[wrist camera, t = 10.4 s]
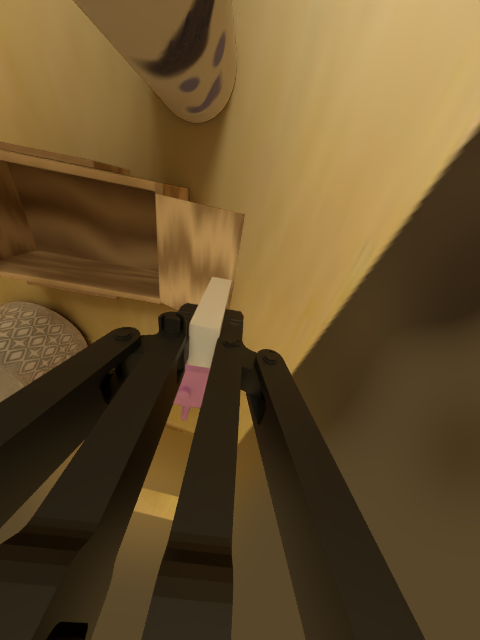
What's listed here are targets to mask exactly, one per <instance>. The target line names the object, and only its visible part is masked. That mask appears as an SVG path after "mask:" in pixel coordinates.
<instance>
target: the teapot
mask: <svg viewBox="0 0 480 640" xmlns="http://www.w3.org/2000/svg"><path fill="white" fill-rule="evenodd" d="M209 371H210V368H206V367H199V366H193V365H188V360H187V362H186V365H185V373H184V376H183V379H182V382H181V384H180V387H179V390H178V392H177V395H176V398H175V400H174V403H173V404H176V405H183V407H182V415H181V418H182V420H183V421H186V419H187V416H188V412H189V409H190V407H197V408H201V404H202V400H203V396H204V392H205V388H206V383H207V379H208V375H209Z"/></svg>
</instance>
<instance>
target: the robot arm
mask: <svg viewBox="0 0 480 640" xmlns="http://www.w3.org/2000/svg"><path fill="white" fill-rule="evenodd" d="M231 281H232V280H228V279H222V278H217V277H212V278H211V280H210V282H209V284H208V286H207V289H206V291H205V293H204V295H203V297H202V299H201V301H200V303H199V305H197V304H191V303H186V304H184V305H182V306H181V307H180V309H179V311H178V312H166V313H163V314H161V315H160V316H159V317H158V321H159V332H158V333H157V334H155V335H140V332H139V331H138V330H137V329H135V328H131V327H122V328H118V329H115V330H113V331H111V332H110V333H108V334H107V335H105V336H103V337H102V338H100V339H99V340H97V341H96V342H94V343H92V344H91V345H89V346H88V347H86V348H85V349H83V350H81V351H80V352H78V353H77V354H75V355H74V356H72V357H70V358H69V359H67V360H66V361H64V362H63V363H61V364H59V365H58V366H56V367H55V368H53V369H52V370H50V371H48V372H47V373H45V374H44V375H42V376H41V377H39V378H37V379H36V380H34V381H33V382H31V383H30V384H28V385H26V386H25V387H23V388H22V389H20V390H19V391H17V392H15V393H14V394H12V395H11V396H9V397H8V398H6V399H4V400H3V401H1V402H0V528H1V527H2V526H3V524H5V523H6V522H7V520H8V519H9V518H10V517H11V516H12V515H13V514H14V513H15V512H16V511H17V510H18V509H19V508H20V507H21V506H22V505H23V504H24V503H25V502H26V500H28V499H29V497H30V496H31V495H32V494H33V493H34V492H35V491H36V490H37V489H38V488H39V487H40V486H41V485H42V484H43V483H44V482H45V481H46V480H47V479H48V477H49V476H50V475H51V474H52V473H53V472H54V471H55V470H56V469H57V468H58V467H59V466H60V465H61V464H62V463H63V462H64V461H65V460H66V459H67V458H68V457H69V455H70V454H71V453H72V452H73V451H74V450H75V449H76V448H77V447H78V446H79V445H80V444H81V443H82V442H83V441H84V440H85V441H84V442H83V444H82V445H81V447H80V448H79V450H78V451H77V453H76V454H75V455H74V457H73V458H72V460H71V461H70V463H69V464H68V466H67V467H66V469H65V470H64V472H63V473H62V475H61V476H60V477H59V479H58V480H57V482H56V483H55V485H54V486H53V488H52V489H51V491H50V492H49V494H48V495H47V496H46V498H45V500H44V501H43V502H42V504H41V505H40V507H39V508H38V510H37V511H36V513H35V514H34V516H33V517H32V518H31V520H30V521H29V522H28V523H27V525H26V526H25V527H24V528H23V529H22V530H21V531H20V532H19V533H17V534H15V535H14V536H12V537H11V538H9V539H8V540H6V541H5V542H3V543H2V544H0V640H91V638H92V635H93V632H94V629H95V626H96V624H97V621H98V618H99V615H100V613H101V610H102V607H103V604H104V601H105V598H106V595H107V592H108V590H109V586H110V582H111V578H112V574H113V568H114V563H115V560H116V556H117V554H118V551H119V548H120V545H121V542H122V540H123V537H124V534H125V532H126V529H127V526H128V524H129V521H130V518H131V516H132V513H133V510H134V508H135V505H136V502H137V500H138V497H139V494H140V492H141V489H142V486H143V483H144V481H145V478H146V475H147V473H148V470H149V467H150V465H151V462H152V459H153V456H154V454H155V451H156V449H157V446H158V443H159V441H160V438H161V435H162V432H163V430H164V427H165V424H166V422H167V419H168V416H169V414H170V411H171V408H172V406H173V403H174V400H175V398H176V395H177V392H178V390H179V387H180V384H181V382H182V379H183V376H184V373H185V365H186V362H187V360H188V365H193V366H199V367H206V368H210V371H209V375H208V379H207V383H206V388H205V392H204V396H203V400H202V404H201V408H200V412H199V417H198V421H197V425H196V429H195V433H194V437H193V441H192V445H191V450H190V454H189V458H188V462H187V466H186V471H185V475H184V479H183V483H182V487H181V491H180V495H179V499H178V503H177V507H176V511H175V516H174V520H173V524H172V528H171V532H170V536H169V540H168V544H167V547H166V550H165V553H164V556H163V559H162V562H161V565H160V569H159V573H158V576H157V580H156V584H155V588H154V591H153V596H152V599H151V604H150V607H149V611H148V615H147V619H146V623H145V628H144V631H143V636H142V639H141V640H231V627H232V626H231V625H232V605H233V564H232V527H233V510H234V493H235V476H236V459H237V442H238V425H239V407H240V390H243V391H245V392H246V396H247V400H248V404H249V408H250V412H251V417H252V421H253V425H254V428H255V433H256V437H257V441H258V445H259V449H260V453H261V457H262V461H263V466H264V470H265V474H266V478H267V482H268V486H269V490H270V494H271V498H272V502H273V507H274V511H275V515H276V519H277V523H278V527H279V531H280V535H281V539H282V543H283V548H284V552H285V556H286V560H287V564H288V568H289V572H290V576H291V580H292V585H293V589H294V593H295V597H296V601H297V605H298V609H299V613H300V618H301V622H302V626H303V630H304V634H305V638H306V640H425V638H424V636H423V634H422V633H421V630H420V628H419V626H418V624H417V622H416V620H415V619H414V616H413V614H412V613H411V611H410V609H409V607H408V605H407V603H406V601H405V599H404V597H403V595H402V593H401V591H400V589H399V587H398V585H397V583H396V581H395V579H394V577H393V575H392V573H391V571H390V569H389V567H388V565H387V563H386V561H385V559H384V557H383V555H382V553H381V551H380V549H379V547H378V546H377V543H376V542H375V539H374V537H373V536H372V534H371V532H370V530H369V528H368V526H367V524H366V522H365V520H364V518H363V516H362V514H361V512H360V510H359V508H358V506H357V504H356V502H355V500H354V498H353V496H352V494H351V492H350V490H349V488H348V486H347V484H346V482H345V480H344V478H343V476H342V474H341V473H340V470H339V469H338V467H337V465H336V462H335V460H334V459H333V457H332V455H331V453H330V451H329V449H328V447H327V445H326V443H325V441H324V439H323V437H322V435H321V433H320V431H319V429H318V427H317V425H316V423H315V421H314V419H313V417H312V415H311V413H310V411H309V409H308V407H307V405H306V403H305V401H304V399H303V397H302V395H301V393H300V392H299V389H298V387H297V386H296V384H295V382H294V380H293V378H292V376H291V374H290V372H289V370H288V368H287V366H286V364H285V362H284V360H283V358H282V357H281V355H280V354H278V353H277V352H275V351H273V350H269V349H263V350H260V351H258V353H256V352H253V351H251V350H249V349H248V348H246V347H245V346H244V344H243V342H242V333H243V317H244V316H243V314H242V313H241V312H240V311H235V310H229V309H227V307H228V300H229V294H230V288H231ZM112 369H113V370H112ZM111 370H112V371H111Z"/></svg>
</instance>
